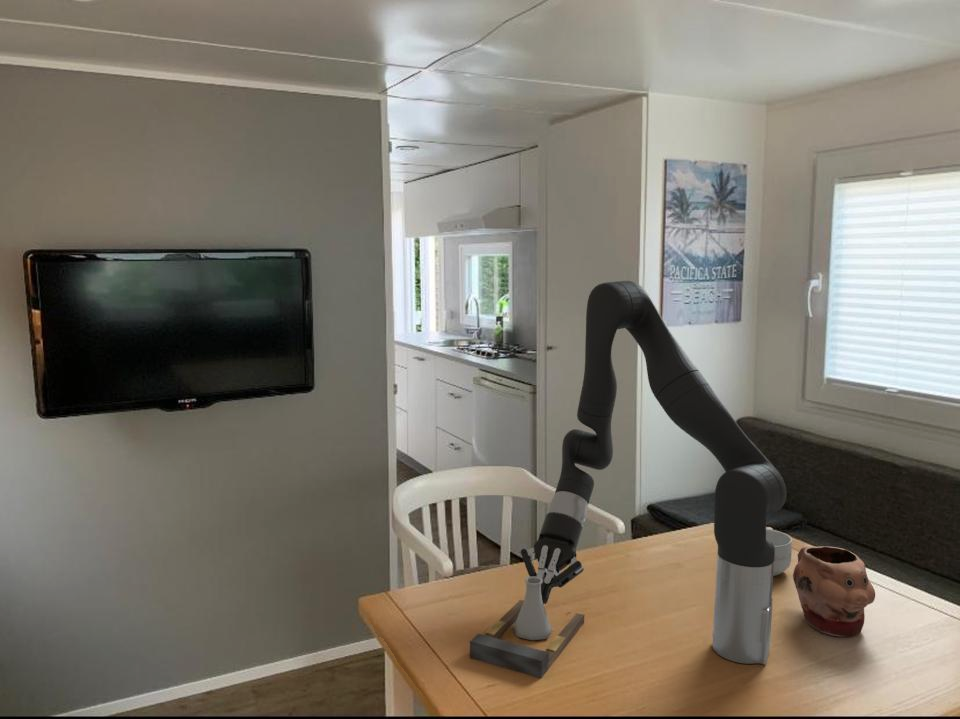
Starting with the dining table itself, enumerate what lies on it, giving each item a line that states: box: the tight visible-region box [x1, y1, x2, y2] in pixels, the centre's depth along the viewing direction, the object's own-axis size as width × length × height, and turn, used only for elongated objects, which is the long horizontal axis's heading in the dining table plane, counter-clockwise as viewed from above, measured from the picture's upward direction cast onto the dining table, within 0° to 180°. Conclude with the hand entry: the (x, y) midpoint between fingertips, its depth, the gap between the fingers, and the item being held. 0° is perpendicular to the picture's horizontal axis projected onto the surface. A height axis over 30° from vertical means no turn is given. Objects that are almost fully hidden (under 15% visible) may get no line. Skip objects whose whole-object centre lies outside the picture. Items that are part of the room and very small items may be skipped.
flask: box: [512, 576, 553, 641], centre depth 135 cm, size 7×7×10 cm
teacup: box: [766, 526, 793, 577], centre depth 164 cm, size 14×11×8 cm
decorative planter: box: [792, 545, 876, 637], centre depth 140 cm, size 20×12×14 cm, turn 14°
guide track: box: [469, 599, 585, 679], centre depth 132 cm, size 13×21×3 cm, turn 153°
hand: (537, 604), depth 137 cm, fingers closed
